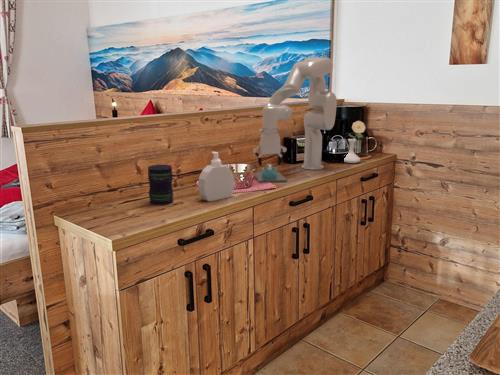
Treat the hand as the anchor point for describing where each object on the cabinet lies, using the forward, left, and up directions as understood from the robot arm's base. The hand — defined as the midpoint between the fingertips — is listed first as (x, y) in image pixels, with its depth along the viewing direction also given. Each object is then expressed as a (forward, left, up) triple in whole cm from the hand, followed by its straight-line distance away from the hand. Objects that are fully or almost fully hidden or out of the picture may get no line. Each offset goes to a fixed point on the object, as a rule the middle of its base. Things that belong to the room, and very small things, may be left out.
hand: (269, 164), depth 236 cm
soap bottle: (+35, -30, -7) cm, 47 cm away
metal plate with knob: (0, 0, -7) cm, 7 cm away
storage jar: (+38, -53, -7) cm, 66 cm away
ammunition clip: (+23, -26, -7) cm, 35 cm away
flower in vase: (-34, +57, -7) cm, 67 cm away
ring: (0, 0, -6) cm, 6 cm away
